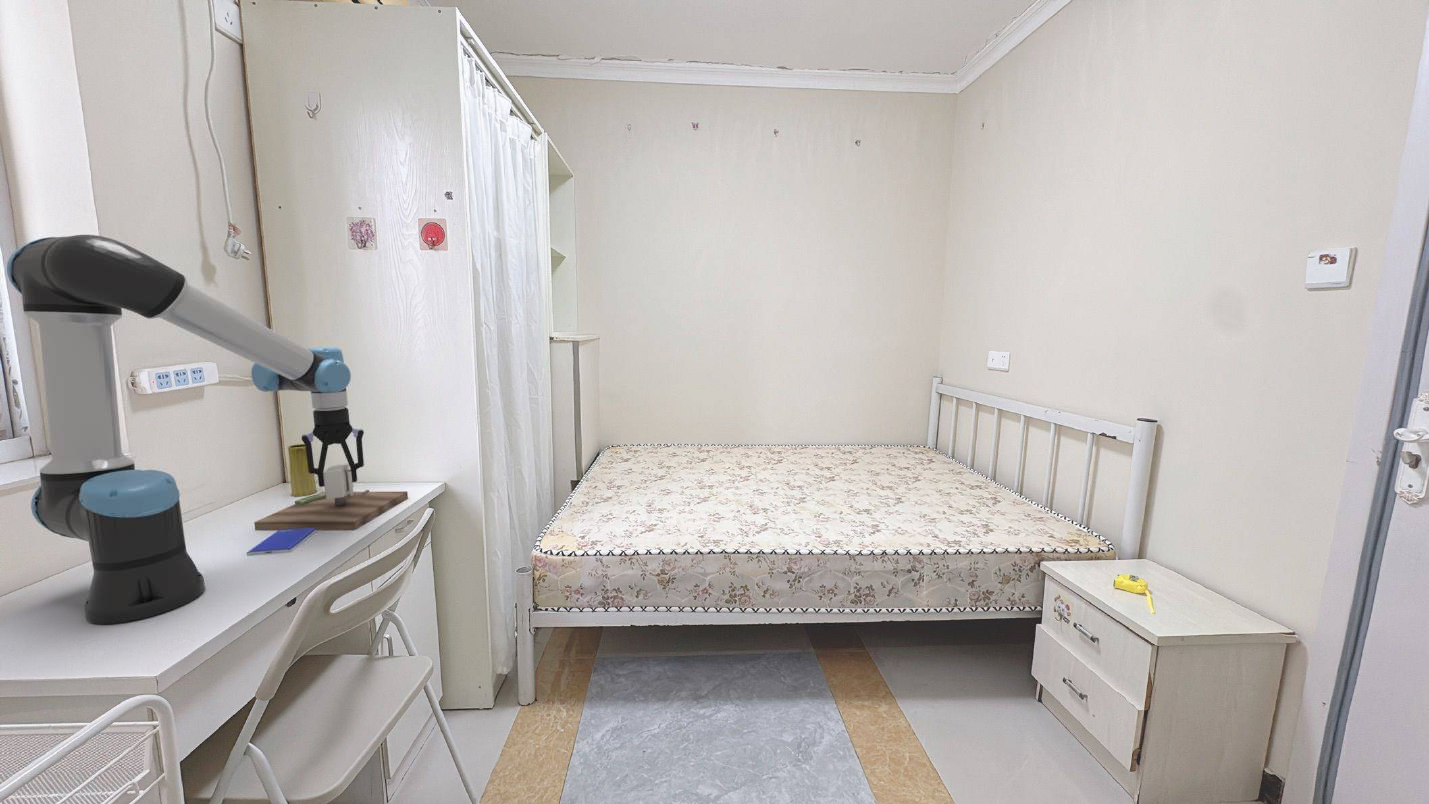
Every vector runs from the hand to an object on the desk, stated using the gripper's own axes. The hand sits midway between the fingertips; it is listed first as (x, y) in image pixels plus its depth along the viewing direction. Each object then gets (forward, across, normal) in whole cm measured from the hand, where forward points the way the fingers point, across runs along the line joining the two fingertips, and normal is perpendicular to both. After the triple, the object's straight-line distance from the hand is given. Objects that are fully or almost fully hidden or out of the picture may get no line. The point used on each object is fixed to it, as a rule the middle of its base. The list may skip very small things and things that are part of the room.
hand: (339, 496), depth 147 cm
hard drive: (+5, +12, +16) cm, 21 cm away
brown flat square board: (+5, +1, -1) cm, 5 cm away
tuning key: (+2, -1, -4) cm, 4 cm away
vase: (+5, +8, -27) cm, 28 cm away
